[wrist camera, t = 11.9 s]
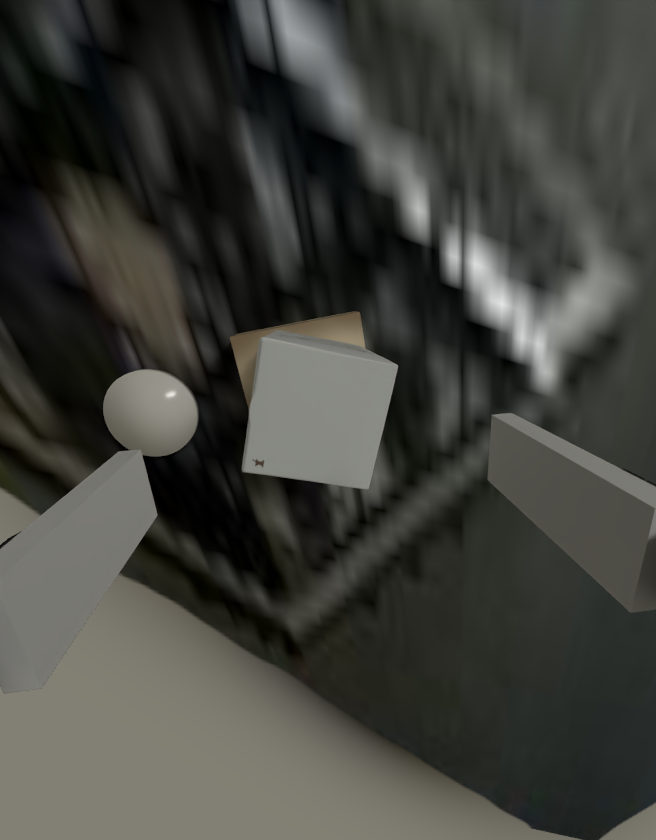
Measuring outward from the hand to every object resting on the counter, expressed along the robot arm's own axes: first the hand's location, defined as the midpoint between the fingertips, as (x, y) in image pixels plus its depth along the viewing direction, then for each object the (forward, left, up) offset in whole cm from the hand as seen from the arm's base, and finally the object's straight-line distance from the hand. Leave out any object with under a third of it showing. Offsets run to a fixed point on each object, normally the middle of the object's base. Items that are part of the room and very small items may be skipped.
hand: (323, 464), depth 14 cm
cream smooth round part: (+4, -18, -29) cm, 34 cm away
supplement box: (+1, 0, -24) cm, 24 cm away
